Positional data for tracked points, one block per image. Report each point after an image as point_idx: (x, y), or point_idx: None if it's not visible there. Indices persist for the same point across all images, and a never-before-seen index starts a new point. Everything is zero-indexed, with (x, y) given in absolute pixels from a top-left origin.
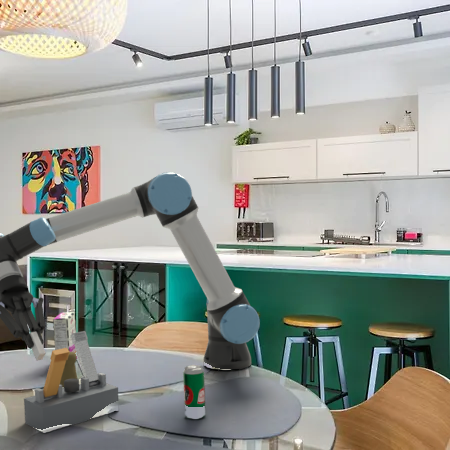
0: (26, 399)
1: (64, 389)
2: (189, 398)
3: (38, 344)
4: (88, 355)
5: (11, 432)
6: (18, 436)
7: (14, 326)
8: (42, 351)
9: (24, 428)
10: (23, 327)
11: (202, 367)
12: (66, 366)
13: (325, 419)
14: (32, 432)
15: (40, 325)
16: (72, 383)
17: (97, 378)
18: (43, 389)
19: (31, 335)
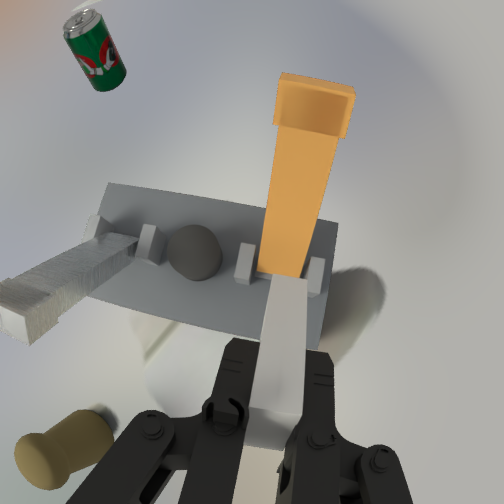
0: (319, 333)
1: (219, 265)
2: (115, 50)
3: (288, 321)
4: (66, 258)
5: (359, 319)
6: (364, 282)
7: (407, 500)
8: (285, 284)
9: (328, 315)
10: (338, 478)
11: (74, 15)
12: (63, 446)
13: (86, 2)
14: (332, 274)
15: (168, 446)
16: (207, 229)
17: (109, 233)
18: (302, 266)
19: (301, 395)
